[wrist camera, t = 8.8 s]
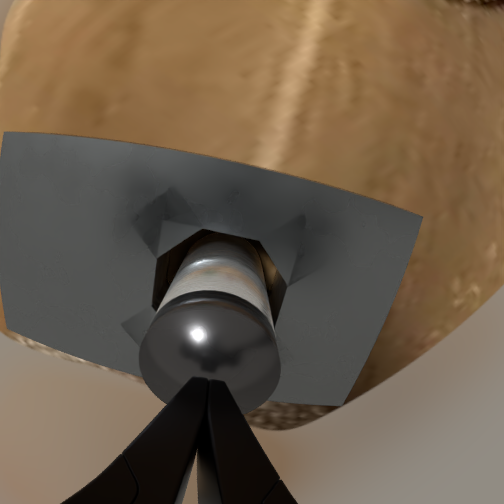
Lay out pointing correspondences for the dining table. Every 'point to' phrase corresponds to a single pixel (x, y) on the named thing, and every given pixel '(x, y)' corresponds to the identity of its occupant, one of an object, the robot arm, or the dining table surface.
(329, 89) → the dining table surface
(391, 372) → the dining table surface
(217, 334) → the metal cylinder peg
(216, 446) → the robot arm
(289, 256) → the jig
